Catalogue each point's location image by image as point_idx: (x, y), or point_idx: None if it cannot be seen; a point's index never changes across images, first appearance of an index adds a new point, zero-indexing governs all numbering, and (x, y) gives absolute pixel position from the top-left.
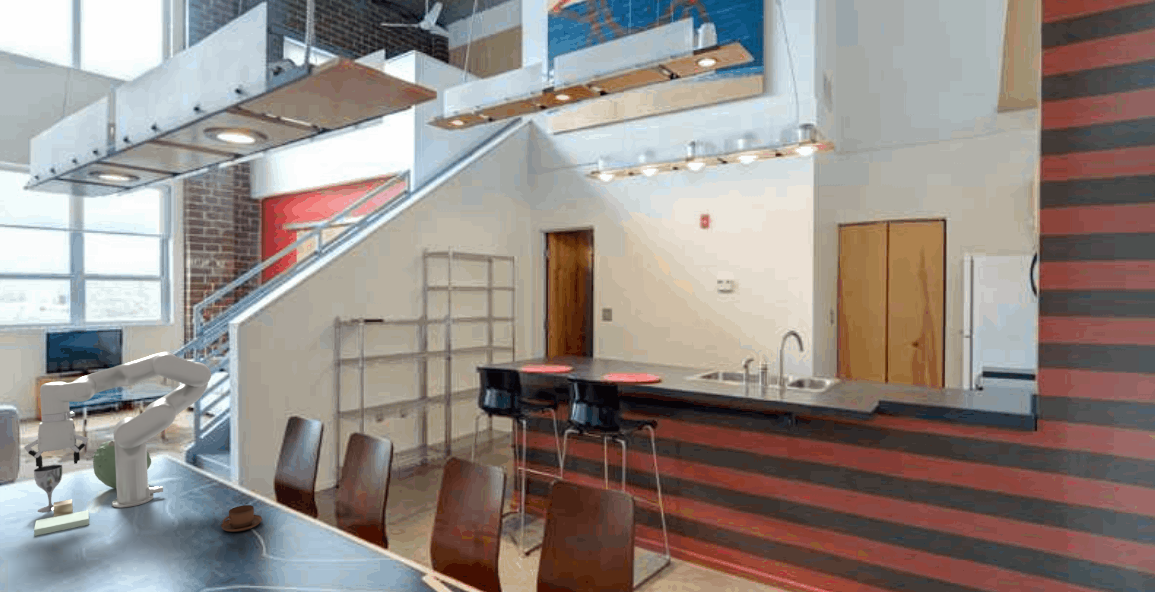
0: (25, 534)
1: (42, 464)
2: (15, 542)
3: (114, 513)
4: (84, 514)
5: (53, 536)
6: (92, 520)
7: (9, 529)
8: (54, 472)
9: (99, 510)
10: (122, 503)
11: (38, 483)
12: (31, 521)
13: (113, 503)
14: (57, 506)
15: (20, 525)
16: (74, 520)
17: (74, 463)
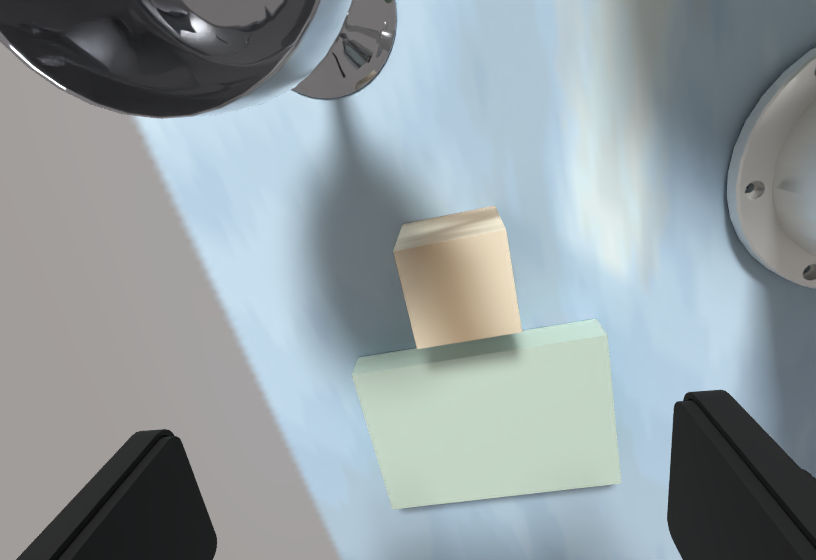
0: (348, 446)
1: (155, 457)
2: (343, 519)
3: (731, 352)
4: (592, 407)
5: (479, 528)
6: (621, 408)
7: (238, 337)
8: (291, 71)
9: (647, 247)
10: (801, 251)
11: (165, 70)
12: (300, 257)
13: (745, 220)
14: (439, 342)
15: (267, 299)
16: (553, 475)
17: (675, 530)
